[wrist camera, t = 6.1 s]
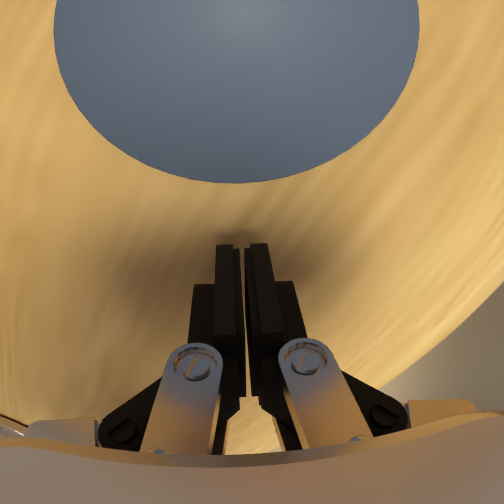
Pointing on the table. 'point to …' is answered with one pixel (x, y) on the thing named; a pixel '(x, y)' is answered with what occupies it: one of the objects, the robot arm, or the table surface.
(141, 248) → the table surface
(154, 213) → the table surface
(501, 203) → the table surface
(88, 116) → the disc
